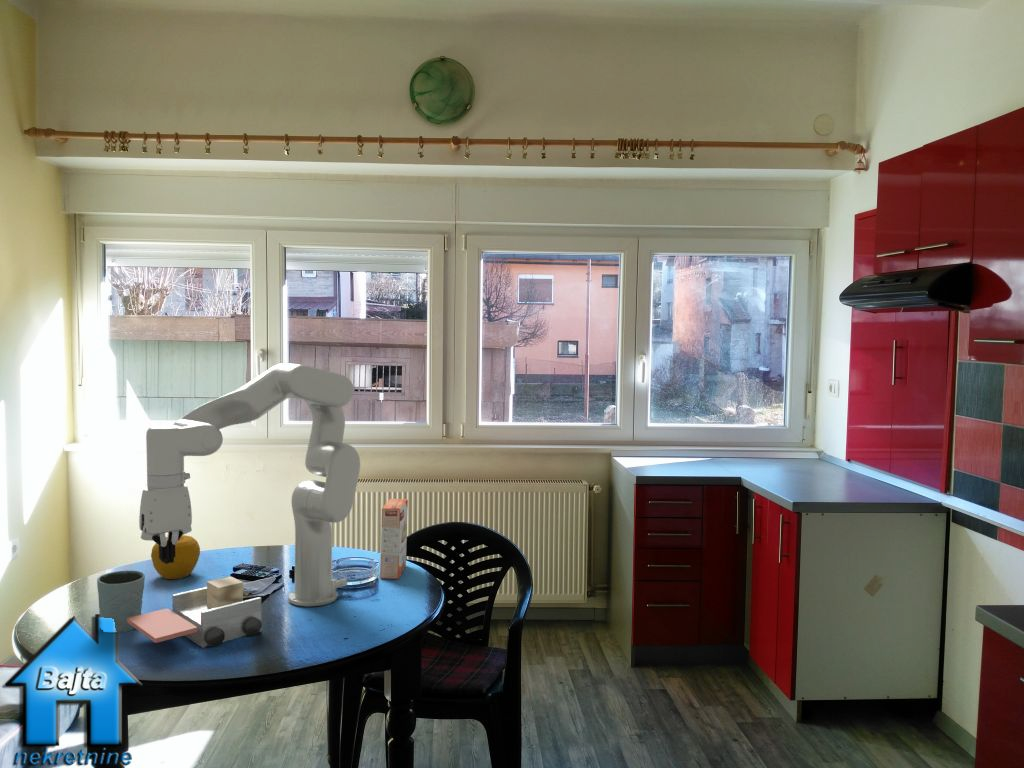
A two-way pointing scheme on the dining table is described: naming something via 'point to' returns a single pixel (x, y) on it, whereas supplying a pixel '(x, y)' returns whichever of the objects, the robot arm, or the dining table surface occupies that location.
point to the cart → (217, 617)
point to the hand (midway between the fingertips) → (167, 561)
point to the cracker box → (393, 538)
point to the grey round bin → (121, 597)
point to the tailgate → (161, 625)
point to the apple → (178, 559)
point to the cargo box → (224, 592)
